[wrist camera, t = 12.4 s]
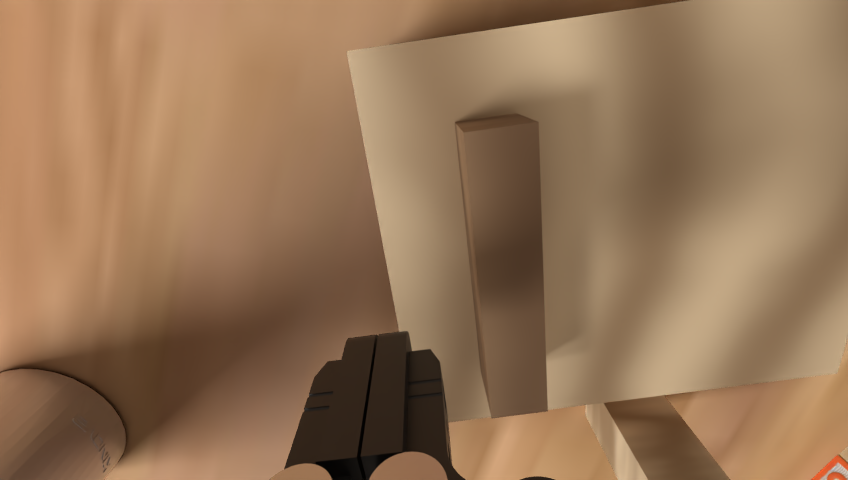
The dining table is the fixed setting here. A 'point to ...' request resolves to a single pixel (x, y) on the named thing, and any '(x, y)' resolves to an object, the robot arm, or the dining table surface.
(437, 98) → the lid
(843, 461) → the stack of blocks
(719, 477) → the beige wooden block
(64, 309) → the dining table surface
